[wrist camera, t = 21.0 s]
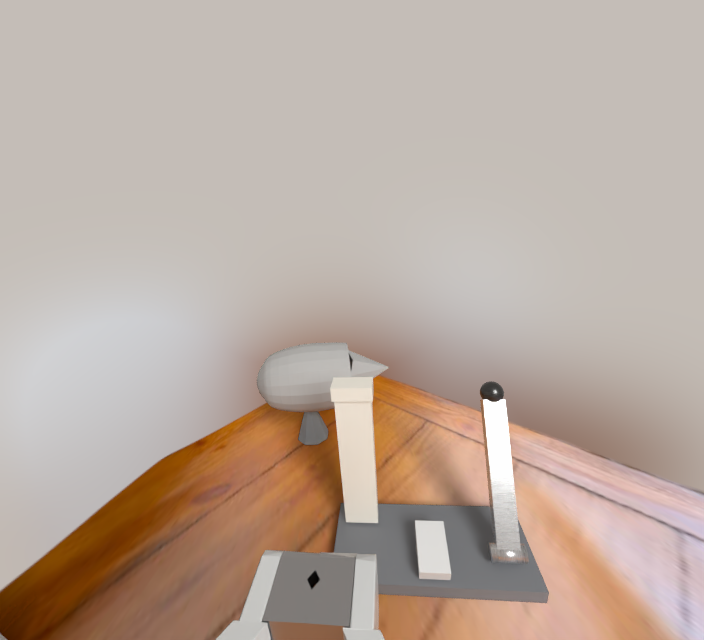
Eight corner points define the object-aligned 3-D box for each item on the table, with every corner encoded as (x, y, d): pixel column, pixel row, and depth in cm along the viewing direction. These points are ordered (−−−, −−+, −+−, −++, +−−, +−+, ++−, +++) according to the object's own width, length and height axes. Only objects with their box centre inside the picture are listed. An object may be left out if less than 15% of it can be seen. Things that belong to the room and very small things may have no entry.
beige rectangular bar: (379, 526, 41) (372, 388, 35) (343, 525, 42) (330, 388, 36) (379, 509, 44) (372, 376, 37) (346, 508, 44) (333, 377, 38)
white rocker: (451, 580, 35) (452, 573, 34) (418, 578, 35) (418, 572, 35) (443, 527, 39) (444, 521, 39) (414, 526, 40) (414, 520, 39)
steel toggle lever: (531, 569, 35) (510, 380, 39) (494, 567, 35) (477, 381, 39) (521, 557, 37) (502, 381, 41) (487, 556, 38) (472, 382, 42)
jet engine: (362, 479, 51) (354, 376, 45) (256, 449, 59) (238, 358, 53) (392, 422, 63) (389, 336, 58) (302, 403, 72) (291, 326, 66)
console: (547, 602, 34) (548, 592, 33) (330, 591, 36) (329, 581, 36) (511, 516, 43) (512, 507, 43) (341, 511, 46) (341, 502, 45)
